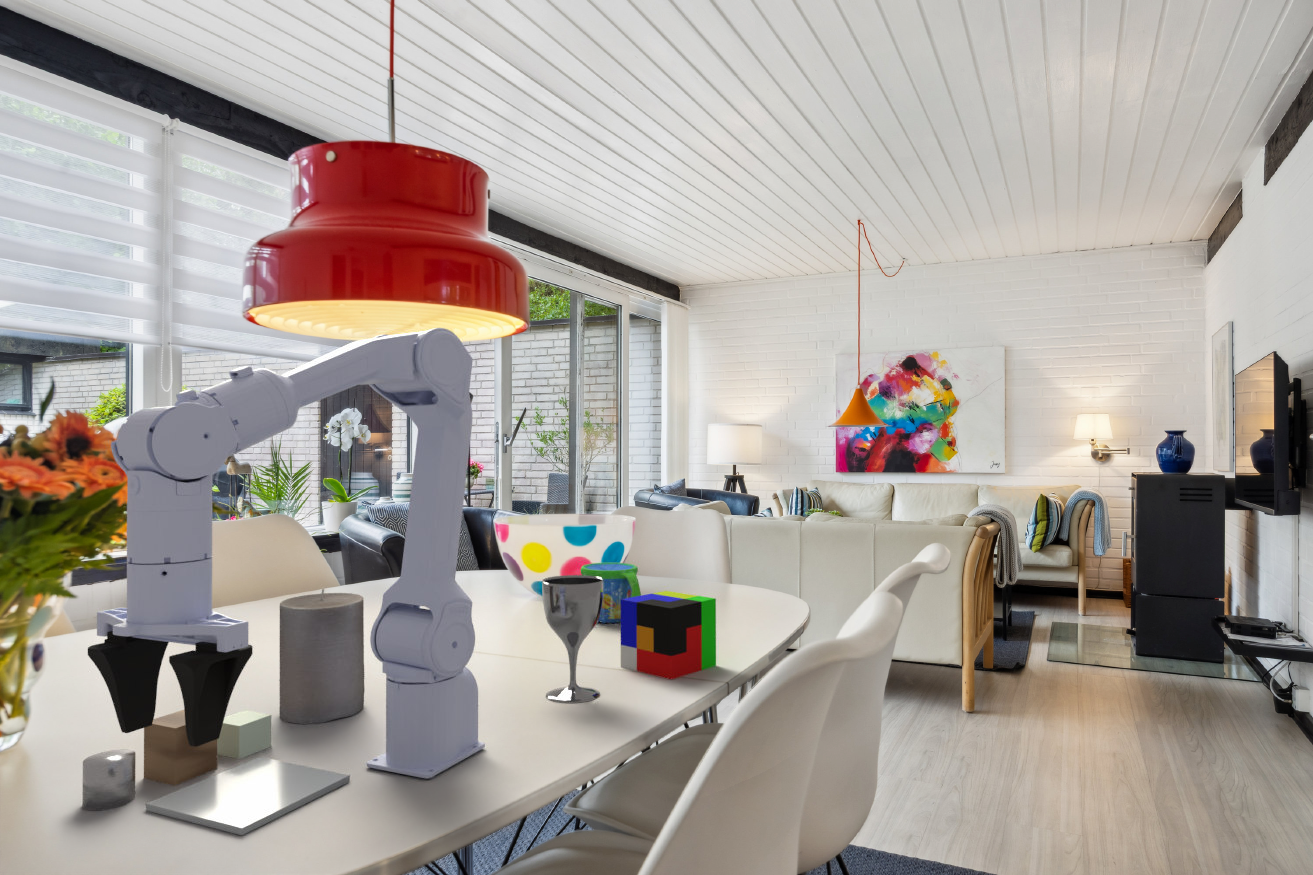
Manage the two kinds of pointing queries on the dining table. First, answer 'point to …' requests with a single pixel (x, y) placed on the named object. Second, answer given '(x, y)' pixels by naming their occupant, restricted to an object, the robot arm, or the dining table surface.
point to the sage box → (244, 734)
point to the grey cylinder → (108, 780)
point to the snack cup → (614, 587)
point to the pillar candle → (321, 657)
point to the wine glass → (572, 624)
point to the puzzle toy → (668, 633)
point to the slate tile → (248, 795)
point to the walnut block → (175, 752)
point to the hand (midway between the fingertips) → (170, 735)
